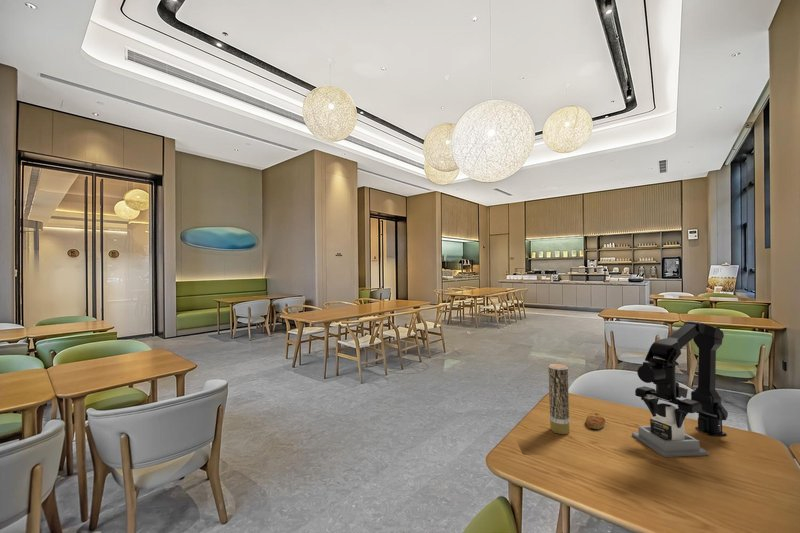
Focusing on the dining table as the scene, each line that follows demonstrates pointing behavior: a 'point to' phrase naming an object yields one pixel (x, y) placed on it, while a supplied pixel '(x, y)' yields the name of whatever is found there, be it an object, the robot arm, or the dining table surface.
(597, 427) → the pastry
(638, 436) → the bottle caddy
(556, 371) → the bark-patterned cylinder
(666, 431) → the medicine bottle
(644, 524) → the dining table surface
